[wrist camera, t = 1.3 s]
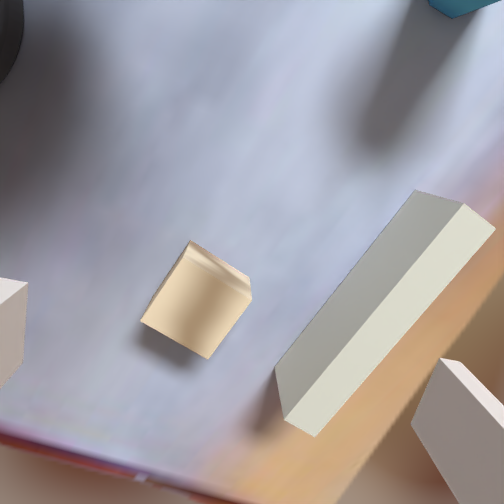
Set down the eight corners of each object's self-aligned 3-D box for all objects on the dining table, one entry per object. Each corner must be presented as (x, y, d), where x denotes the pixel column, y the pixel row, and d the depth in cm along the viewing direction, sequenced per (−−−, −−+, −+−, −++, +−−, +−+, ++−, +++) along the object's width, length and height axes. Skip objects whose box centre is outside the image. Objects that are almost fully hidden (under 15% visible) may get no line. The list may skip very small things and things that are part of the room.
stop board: (274, 367, 36) (283, 419, 29) (415, 189, 32) (464, 203, 25) (300, 382, 36) (314, 437, 30) (441, 210, 32) (496, 228, 26)
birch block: (153, 294, 33) (140, 320, 29) (190, 239, 32) (182, 257, 27) (211, 329, 35) (207, 359, 30) (249, 277, 33) (251, 300, 29)
